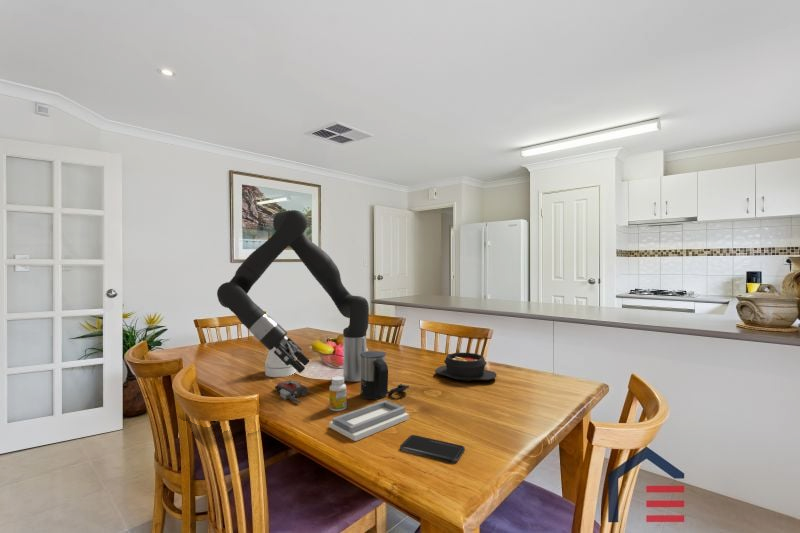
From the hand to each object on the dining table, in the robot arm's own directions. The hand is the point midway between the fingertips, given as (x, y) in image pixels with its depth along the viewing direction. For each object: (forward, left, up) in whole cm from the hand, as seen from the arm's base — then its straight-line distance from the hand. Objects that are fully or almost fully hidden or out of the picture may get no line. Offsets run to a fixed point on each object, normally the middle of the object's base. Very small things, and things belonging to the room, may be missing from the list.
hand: (305, 366), depth 122 cm
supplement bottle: (-8, +7, -14) cm, 17 cm away
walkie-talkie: (-4, -15, -14) cm, 21 cm away
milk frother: (-27, +8, -14) cm, 31 cm away
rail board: (-8, +23, -14) cm, 28 cm away
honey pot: (-14, -43, -14) cm, 48 cm away
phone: (-9, +46, -14) cm, 49 cm away
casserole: (-64, +16, -14) cm, 67 cm away
